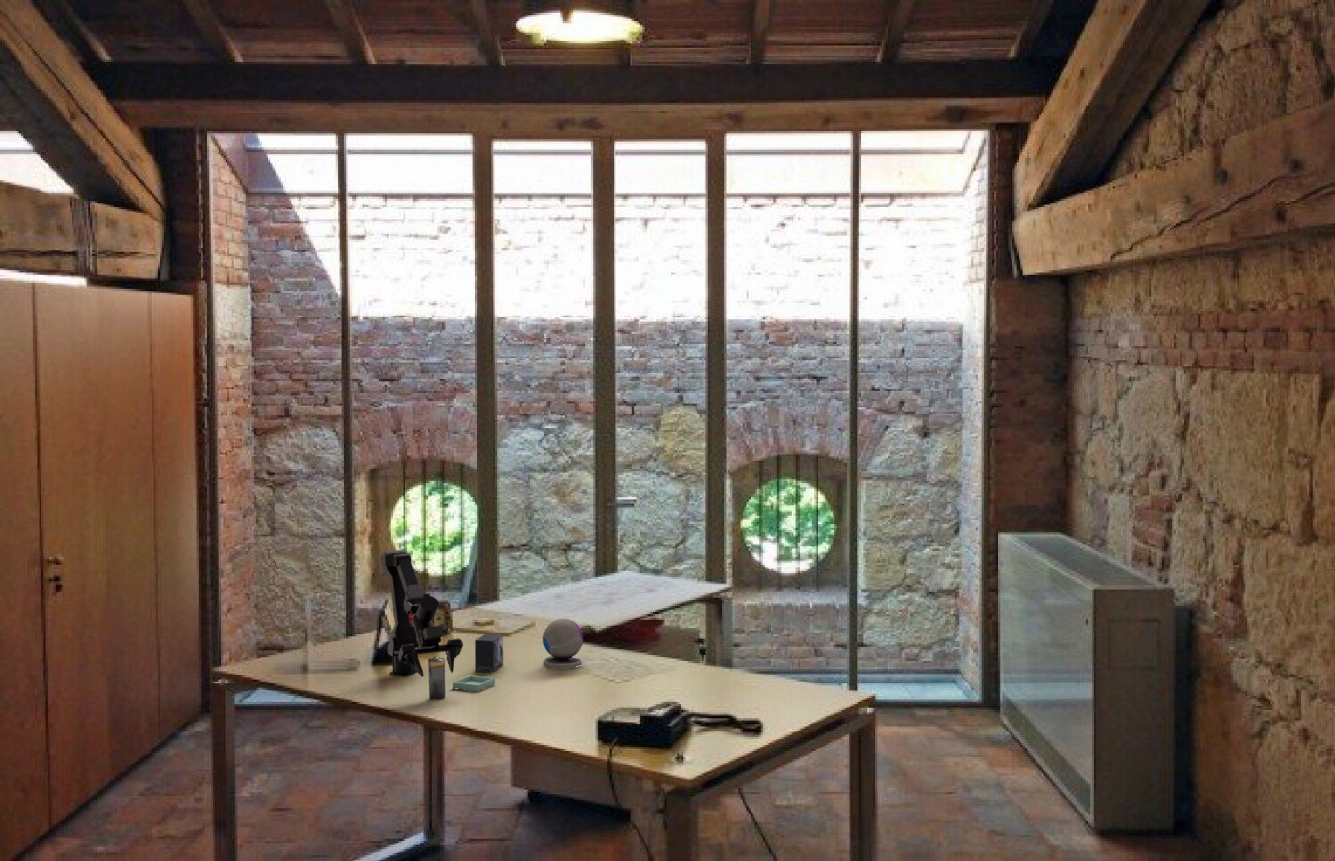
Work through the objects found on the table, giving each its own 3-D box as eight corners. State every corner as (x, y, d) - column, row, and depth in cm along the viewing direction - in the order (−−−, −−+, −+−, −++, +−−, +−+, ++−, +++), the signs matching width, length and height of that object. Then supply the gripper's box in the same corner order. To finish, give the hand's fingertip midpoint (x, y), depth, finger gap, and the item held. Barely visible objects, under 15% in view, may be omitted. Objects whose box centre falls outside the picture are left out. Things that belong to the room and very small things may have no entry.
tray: (452, 688, 439) (452, 682, 439) (469, 681, 447) (469, 675, 447) (478, 691, 435) (478, 685, 435) (495, 684, 443) (494, 678, 443)
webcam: (588, 667, 464) (587, 621, 463) (550, 671, 459) (549, 624, 458) (575, 658, 476) (574, 613, 475) (538, 662, 471) (537, 617, 470)
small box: (494, 673, 458) (493, 640, 457) (474, 672, 459) (473, 640, 458) (504, 665, 468) (503, 633, 467) (485, 664, 469) (484, 632, 469)
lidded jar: (425, 698, 428) (424, 658, 427) (435, 694, 432) (434, 654, 432) (439, 700, 426) (438, 660, 425) (448, 696, 430) (447, 656, 429)
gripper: (400, 618, 427) (412, 662, 418) (460, 611, 436) (473, 655, 427) (393, 639, 435) (405, 683, 426) (452, 632, 443) (465, 675, 434)
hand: (437, 674), depth 428 cm, fingers open, 9 cm apart
